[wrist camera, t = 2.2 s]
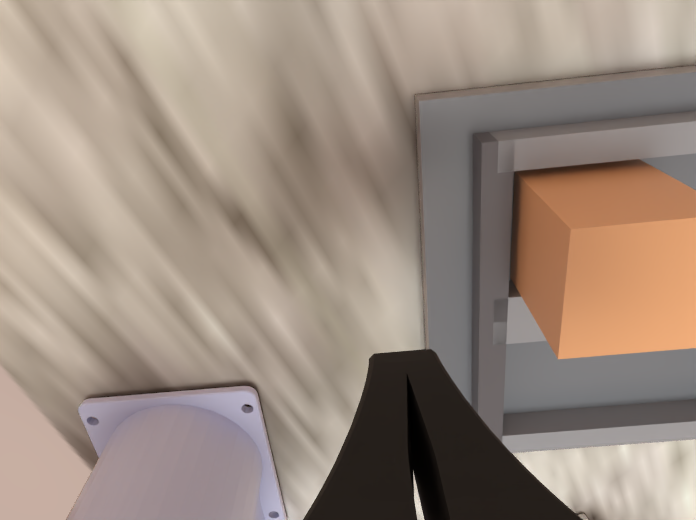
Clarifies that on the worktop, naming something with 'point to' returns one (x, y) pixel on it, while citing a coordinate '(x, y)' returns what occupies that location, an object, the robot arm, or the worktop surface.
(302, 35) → the worktop surface
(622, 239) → the orange block
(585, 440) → the gray compartment tray
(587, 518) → the supplement box
